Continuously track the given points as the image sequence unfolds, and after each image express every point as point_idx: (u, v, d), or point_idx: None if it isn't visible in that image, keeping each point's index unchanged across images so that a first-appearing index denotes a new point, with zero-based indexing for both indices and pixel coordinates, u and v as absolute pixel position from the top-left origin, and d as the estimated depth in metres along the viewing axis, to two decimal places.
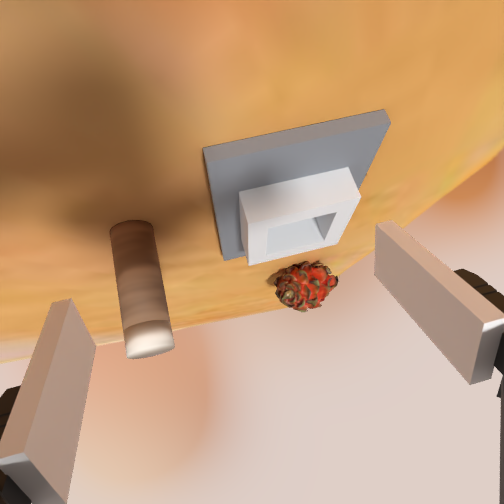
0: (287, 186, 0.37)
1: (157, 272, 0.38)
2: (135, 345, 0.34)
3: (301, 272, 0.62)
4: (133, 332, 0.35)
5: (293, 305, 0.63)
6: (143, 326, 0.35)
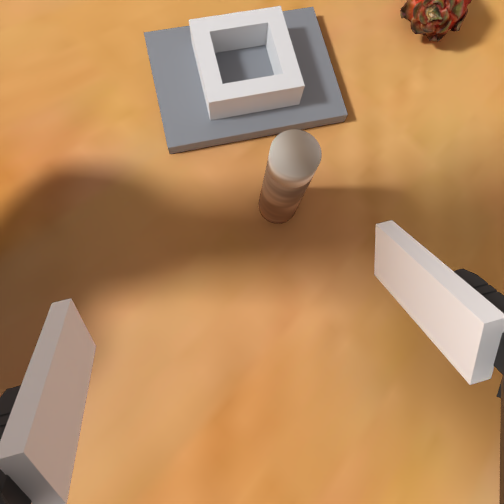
0: (201, 83, 0.46)
1: None
2: (274, 169, 0.33)
3: (401, 14, 0.49)
4: (273, 175, 0.34)
5: None
6: (268, 166, 0.34)
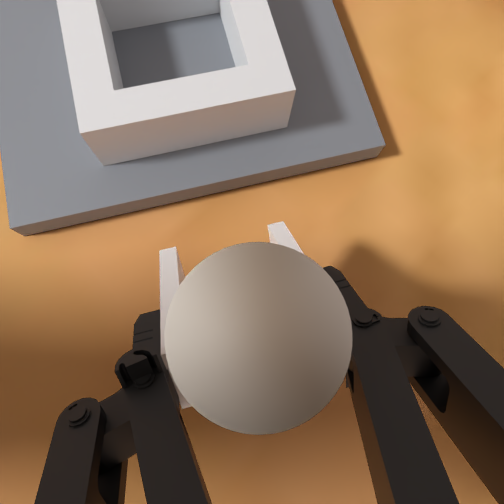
0: None
1: None
2: None
3: None
4: None
5: None
6: None
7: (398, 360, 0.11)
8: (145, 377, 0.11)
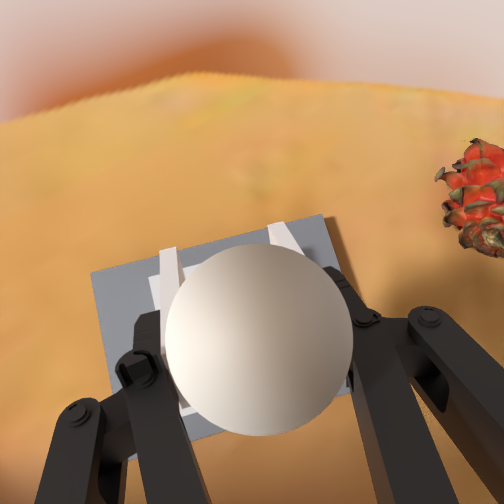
0: None
1: None
2: None
3: (444, 224, 0.36)
4: None
5: None
6: None
7: (398, 360, 0.11)
8: (145, 377, 0.11)
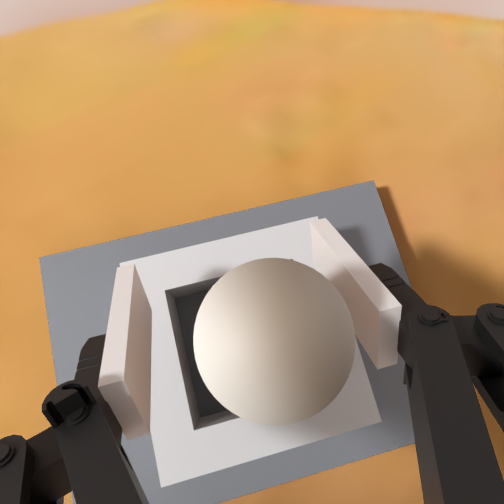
0: None
1: None
2: None
3: None
4: None
5: None
6: None
7: (463, 362, 0.10)
8: (77, 412, 0.11)
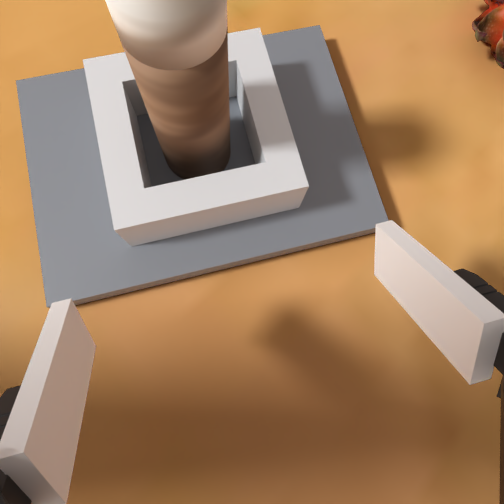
0: None
1: None
2: (111, 9, 0.13)
3: (477, 35, 0.28)
4: (121, 36, 0.15)
5: None
6: None
7: None
8: None
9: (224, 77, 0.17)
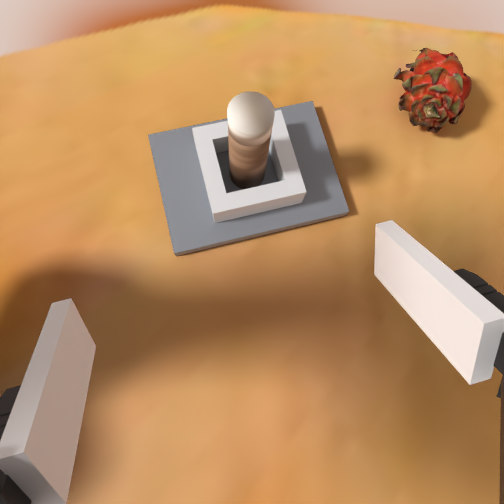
0: (205, 186, 0.47)
1: None
2: (232, 127, 0.36)
3: (399, 107, 0.50)
4: (232, 134, 0.37)
5: (445, 98, 0.46)
6: (228, 127, 0.38)
7: None
8: None
9: (269, 145, 0.40)
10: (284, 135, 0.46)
